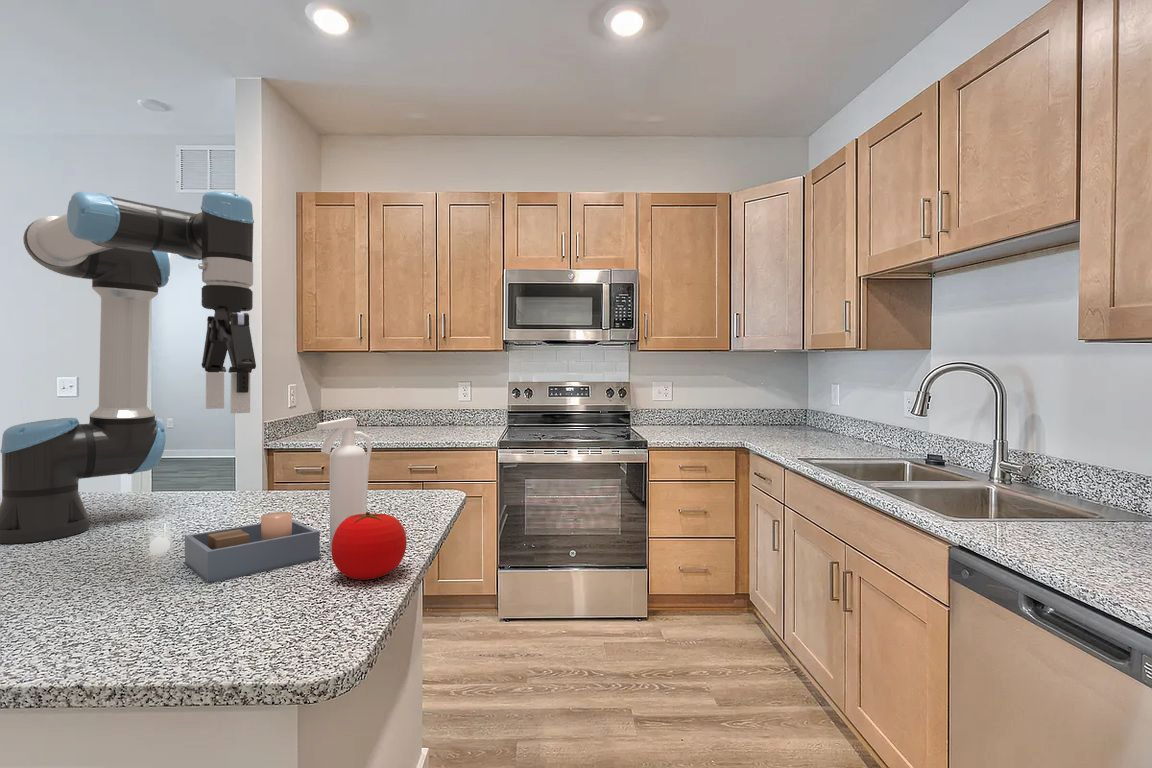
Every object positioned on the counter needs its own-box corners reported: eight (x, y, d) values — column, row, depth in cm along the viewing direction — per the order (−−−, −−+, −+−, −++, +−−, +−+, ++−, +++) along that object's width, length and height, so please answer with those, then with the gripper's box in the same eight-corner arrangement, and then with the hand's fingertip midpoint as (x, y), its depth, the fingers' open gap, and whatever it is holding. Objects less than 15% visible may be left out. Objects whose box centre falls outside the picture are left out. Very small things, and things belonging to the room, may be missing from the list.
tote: (184, 564, 103) (184, 535, 103) (289, 544, 116) (289, 518, 116) (207, 583, 94) (207, 551, 93) (319, 559, 106) (319, 531, 106)
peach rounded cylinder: (256, 553, 107) (256, 515, 107) (285, 547, 111) (285, 510, 111) (267, 559, 104) (266, 519, 104) (296, 553, 108) (296, 515, 107)
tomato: (322, 572, 99) (322, 510, 99) (391, 559, 106) (391, 501, 106) (343, 593, 90) (344, 524, 90) (417, 577, 97) (417, 514, 97)
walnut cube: (207, 563, 101) (207, 534, 101) (239, 557, 105) (239, 529, 105) (216, 570, 98) (216, 540, 98) (249, 563, 102) (249, 534, 102)
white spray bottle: (391, 542, 116) (386, 415, 116) (334, 559, 107) (327, 421, 106) (371, 537, 121) (366, 414, 120) (314, 553, 111) (308, 420, 110)
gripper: (182, 290, 107) (182, 407, 107) (226, 276, 90) (225, 416, 90) (228, 294, 112) (228, 406, 113) (278, 282, 95) (277, 414, 96)
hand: (227, 410), depth 102 cm, fingers open, 13 cm apart
